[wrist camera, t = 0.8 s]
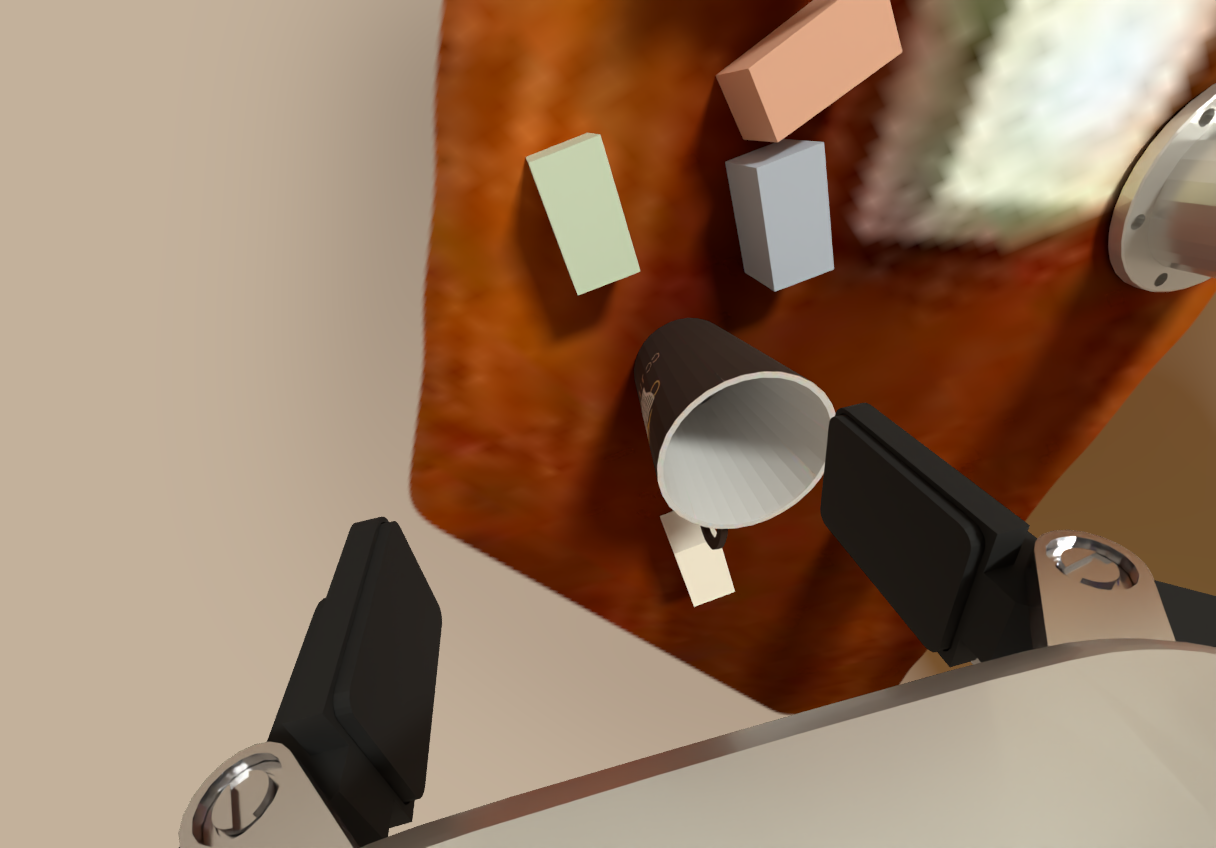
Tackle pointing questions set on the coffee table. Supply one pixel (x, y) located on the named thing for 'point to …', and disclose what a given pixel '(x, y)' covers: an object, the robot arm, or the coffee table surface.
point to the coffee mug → (728, 427)
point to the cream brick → (697, 560)
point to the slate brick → (782, 212)
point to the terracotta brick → (808, 65)
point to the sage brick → (584, 211)
